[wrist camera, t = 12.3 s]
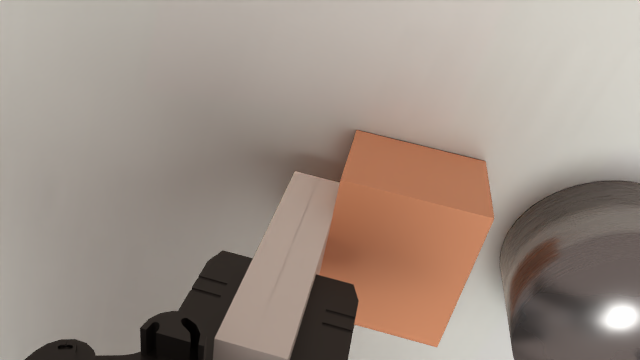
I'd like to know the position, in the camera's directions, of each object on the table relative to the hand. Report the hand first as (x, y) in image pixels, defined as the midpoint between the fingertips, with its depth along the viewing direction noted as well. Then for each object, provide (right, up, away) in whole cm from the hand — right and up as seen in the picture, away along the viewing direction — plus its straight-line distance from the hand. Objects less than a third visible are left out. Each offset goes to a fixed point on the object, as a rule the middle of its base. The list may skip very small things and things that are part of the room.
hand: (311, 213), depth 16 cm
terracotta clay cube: (+3, 0, +1) cm, 3 cm away
